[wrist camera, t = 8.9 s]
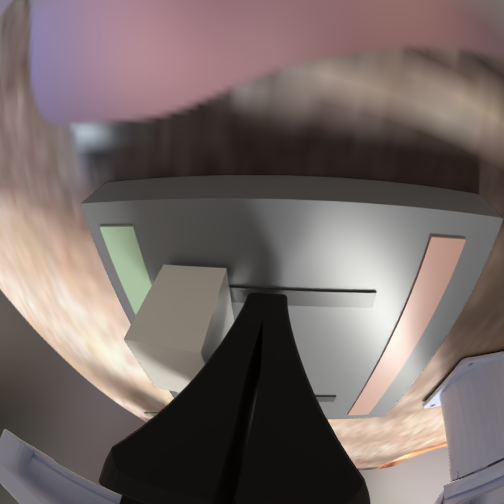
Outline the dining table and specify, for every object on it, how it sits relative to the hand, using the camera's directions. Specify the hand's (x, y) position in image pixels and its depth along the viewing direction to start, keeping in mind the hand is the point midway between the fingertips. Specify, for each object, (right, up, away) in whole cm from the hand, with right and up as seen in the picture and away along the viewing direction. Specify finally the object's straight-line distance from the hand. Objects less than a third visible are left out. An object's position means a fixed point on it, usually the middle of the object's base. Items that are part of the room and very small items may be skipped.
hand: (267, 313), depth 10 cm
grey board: (+1, -2, +5) cm, 5 cm away
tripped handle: (-3, 0, +1) cm, 3 cm away
